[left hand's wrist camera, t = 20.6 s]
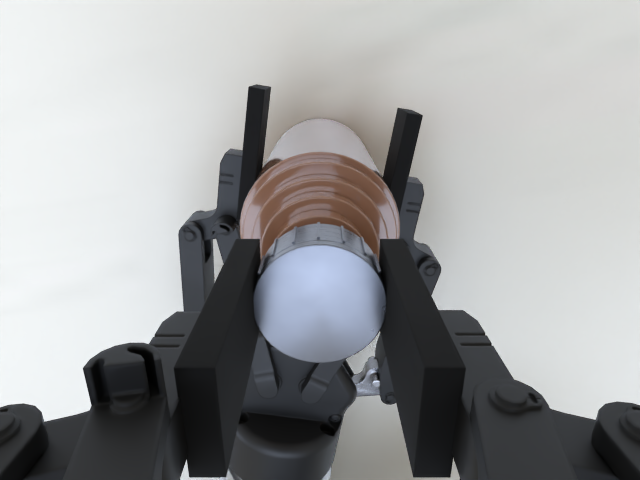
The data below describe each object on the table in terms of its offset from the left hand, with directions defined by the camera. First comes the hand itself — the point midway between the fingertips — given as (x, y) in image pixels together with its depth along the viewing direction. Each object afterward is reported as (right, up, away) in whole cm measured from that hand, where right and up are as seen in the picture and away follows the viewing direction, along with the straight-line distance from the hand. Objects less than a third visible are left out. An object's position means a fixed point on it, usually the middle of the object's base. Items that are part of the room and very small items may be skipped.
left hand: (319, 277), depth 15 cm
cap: (0, -1, -2) cm, 2 cm away
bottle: (0, +6, +15) cm, 17 cm away
